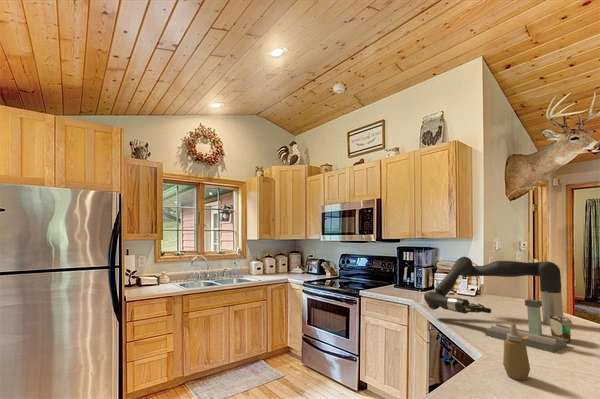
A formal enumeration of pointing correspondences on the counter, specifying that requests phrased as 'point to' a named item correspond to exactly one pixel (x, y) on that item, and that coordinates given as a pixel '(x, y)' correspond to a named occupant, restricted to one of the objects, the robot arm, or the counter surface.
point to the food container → (560, 327)
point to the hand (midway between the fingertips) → (490, 310)
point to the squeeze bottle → (515, 356)
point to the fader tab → (534, 316)
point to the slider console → (529, 338)
